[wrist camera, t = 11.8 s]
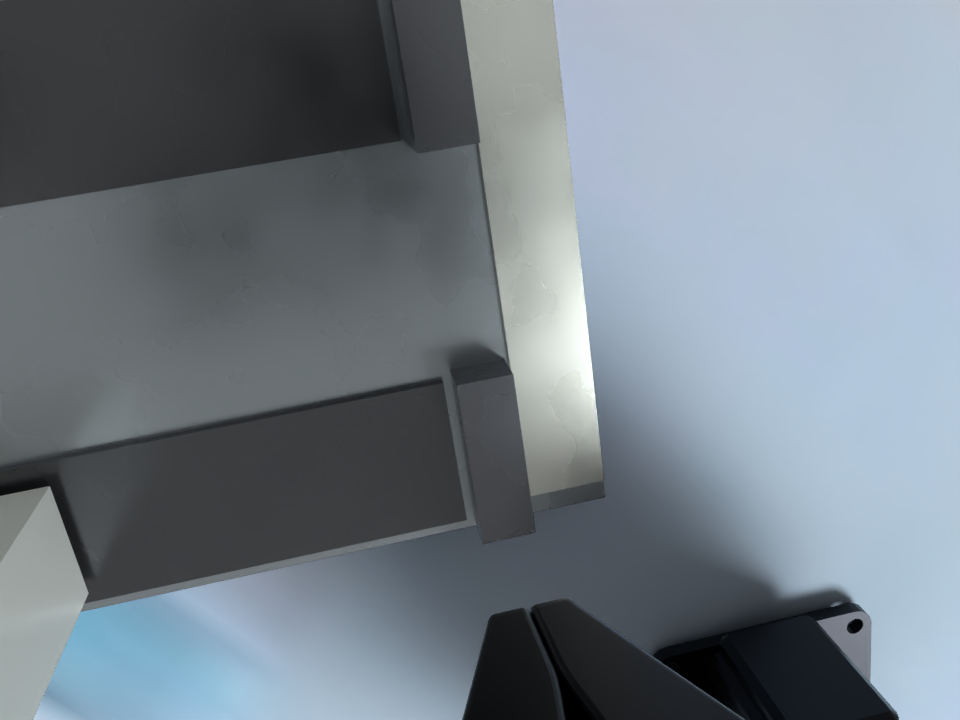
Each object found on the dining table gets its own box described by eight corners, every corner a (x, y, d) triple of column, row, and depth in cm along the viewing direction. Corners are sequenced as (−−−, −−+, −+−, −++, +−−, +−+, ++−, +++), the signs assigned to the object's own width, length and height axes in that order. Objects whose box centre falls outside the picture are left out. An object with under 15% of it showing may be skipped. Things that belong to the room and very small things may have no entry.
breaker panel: (581, 460, 22) (618, 518, 19) (-206, 628, 20) (-292, 720, 17) (455, -623, 15) (485, -781, 12) (-804, -536, 13) (-1118, -702, 10)
